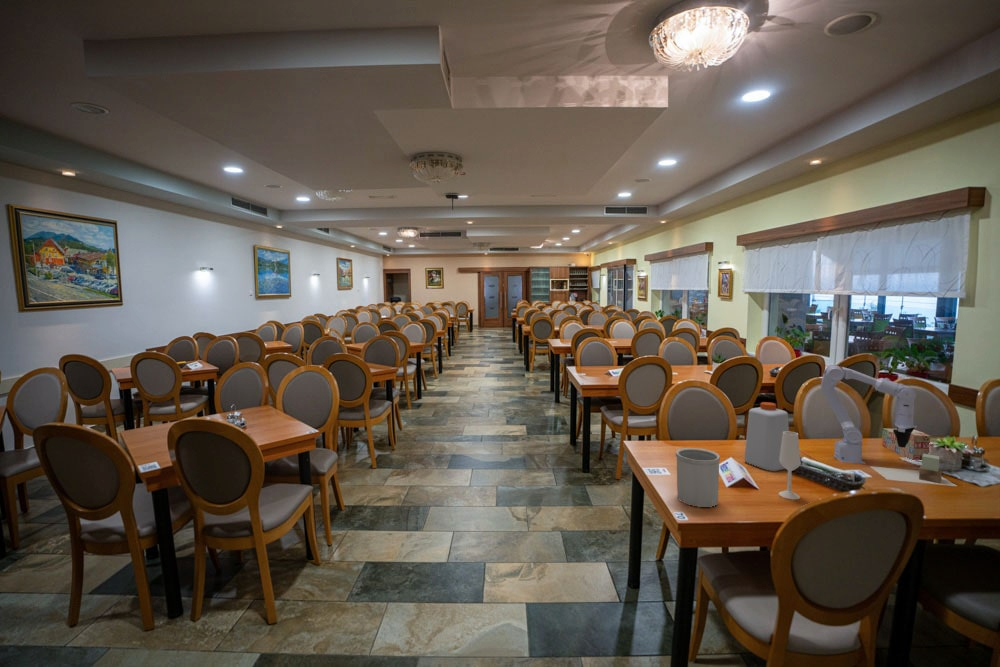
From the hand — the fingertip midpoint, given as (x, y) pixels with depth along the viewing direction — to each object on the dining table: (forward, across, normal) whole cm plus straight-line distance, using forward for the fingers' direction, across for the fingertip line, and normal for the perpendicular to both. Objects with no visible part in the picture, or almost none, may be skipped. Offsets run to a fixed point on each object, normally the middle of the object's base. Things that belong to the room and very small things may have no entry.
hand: (903, 445), depth 185 cm
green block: (+5, -9, -9) cm, 14 cm away
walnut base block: (+10, -9, -9) cm, 16 cm away
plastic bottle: (+11, -37, +41) cm, 56 cm away
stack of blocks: (+11, +26, +2) cm, 28 cm away
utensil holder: (+11, -94, +46) cm, 105 cm away
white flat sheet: (+10, -10, -4) cm, 15 cm away
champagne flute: (+11, -65, +24) cm, 71 cm away
